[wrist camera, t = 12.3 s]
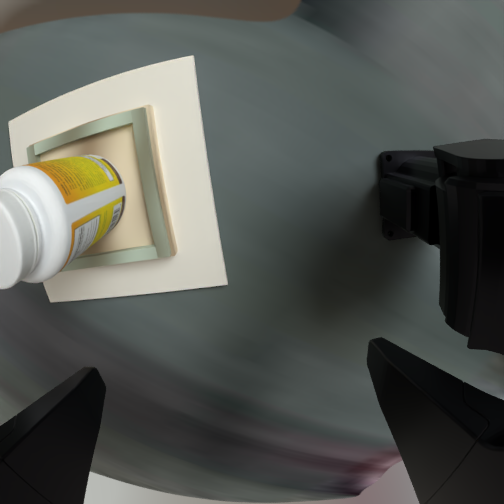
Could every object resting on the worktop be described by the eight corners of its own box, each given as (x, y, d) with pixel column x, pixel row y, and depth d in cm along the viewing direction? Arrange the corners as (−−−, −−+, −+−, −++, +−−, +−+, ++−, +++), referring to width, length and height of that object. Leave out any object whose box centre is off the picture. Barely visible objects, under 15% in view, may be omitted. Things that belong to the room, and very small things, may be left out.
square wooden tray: (153, 106, 17) (145, 103, 16) (177, 250, 20) (173, 259, 19) (36, 144, 17) (24, 146, 16) (63, 267, 21) (54, 275, 19)
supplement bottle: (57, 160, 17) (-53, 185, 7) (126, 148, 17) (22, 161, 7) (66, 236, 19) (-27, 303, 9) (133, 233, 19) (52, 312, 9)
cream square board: (194, 57, 16) (193, 55, 16) (227, 281, 22) (227, 284, 21) (12, 121, 17) (8, 121, 16) (53, 299, 22) (50, 302, 22)
